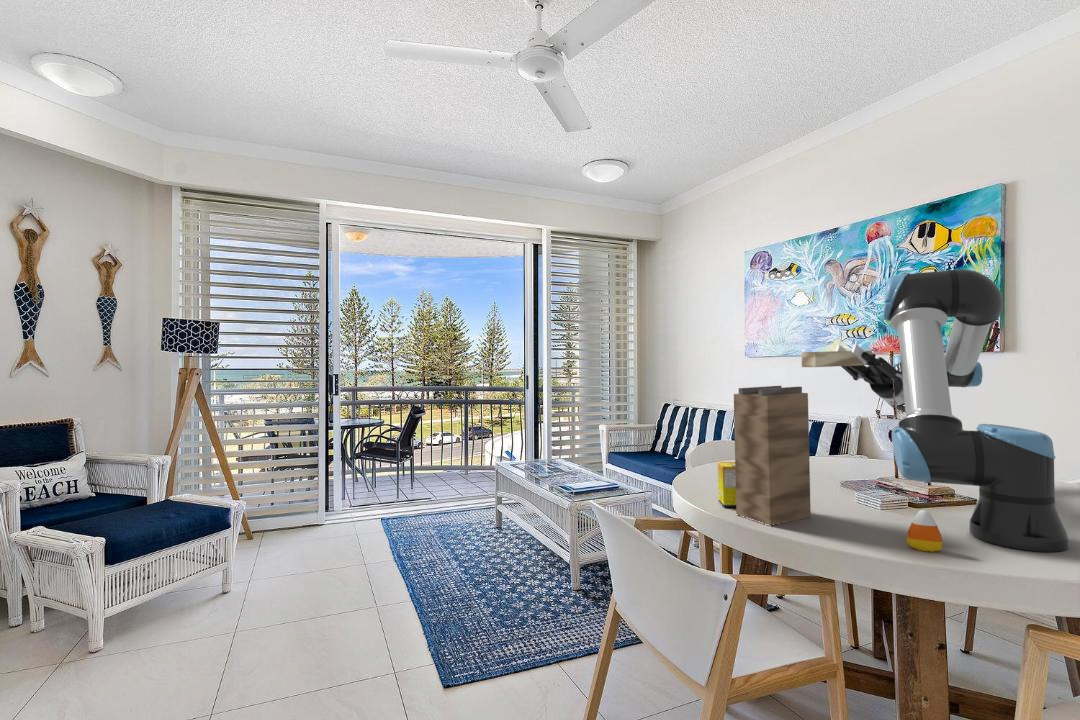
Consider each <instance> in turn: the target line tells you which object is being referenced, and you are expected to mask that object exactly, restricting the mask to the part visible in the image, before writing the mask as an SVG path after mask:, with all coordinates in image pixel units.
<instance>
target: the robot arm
mask: <svg viewBox="0 0 1080 720" xmlns="http://www.w3.org/2000/svg"><path fill="white" fill-rule="evenodd" d="M1003 299H1004V297H1003V295H1002V293H1001V290H1000V289H999V286H997V285H996V283H995V282H994V281H992V279H990V278H989V277H988V276H987V275H984V274H982V273H980V272H978V271H975V270H972V269H966V268H965V269H963V268H962V269H961V268H960V269H959V268H958V269H950V270H940V271H939V270H937V271H928V272H926V271H925V272H917V273H909V272H906V273H901V274H895V275H891V276H889V278H888V279H887V282H886V288H885V296H884V307H883V316H882V319H883V320H884V321H887V322H888V321H890V326H891V328H893V330H894V331H896V332H898V342H899V343H898V344H899V353H900V354H897V355H895V356H893V357H892V358H893V366H892V365H890V362H888V361H887V360H886V359H884V358H883V357H881V356H879V357H877V358H876V356H877V355H876V354H875V353H872V354H871V355H870V354H868V353H867V352H865V351H866V350H864V349H863V348H861V346H860V345H858V343H853V345H852V349H851V350H850V351H851V353H852V354H853V355H854V356H855V357H856V358H858V359H859V360H860V361H861V362H862V363H863V364H867V362H868V365H856V366H840V367H841V368H842V369H844V371H845V372H846V373H848V374H849V375H850V376H851V377H852V380H854V381H859V380H860V379H861V380H863V381H864V382H866V383H868V384H869V386H870V389H871V391H873V393H875V395H877V396H878V397H880V398H881V399H882V400H883V401H885V402H886V403H887V404H888V405H889V406H891V408H892V409H894V398H893V393H894V389H893V379H894V386H895V400H896V402H897V409H898V410H902V411H904V412H905V413H906V416H905V417H904V416H902V418H900V420H898V426H897V427H895V428H892V430H891V442H892V450H893V456H894V461H895V464H896V467H897V469H898V472H899V473H900V475H901V476H902V477H903V478H904V479H906V480H908V481H915V482H921V483H922V482H924V483H925V484H930V483H932V484H933V483H934V484H938V483H939V484H947V485H948V484H949V485H961V486H962V485H965V486H976V487H978V489H979V490H978V491H979V497H978V500H977V503H976V505H975V507H974V510H973V513H972V515H971V517H970V519H969V533H970V535H971V536H974V537H975V538H977V539H979V540H981V541H983V542H986V543H990V544H994V545H998V546H1001V547H1002V546H1003V547H1007V548H1012V549H1016V550H1017V549H1018V550H1025V551H1032V552H1033V551H1034V552H1044V553H1045V552H1047V553H1048V552H1062V551H1065V550H1067V549H1069V536H1068V533H1067V530H1066V529H1065V527H1064V523H1063V521H1062V519H1061V518H1060V515H1059V513H1058V511H1057V508H1056V499H1055V496H1056V495H1055V494H1056V493H1055V489H1056V488H1055V460H1056V456H1055V450H1054V445H1053V444H1054V443H1053V440H1052V438H1051V437H1050V436H1049V435H1048V434H1046V433H1043V432H1041V431H1037V430H1032V429H1028V428H1022V427H1021V428H1020V427H1014V426H1009V425H1007V426H1006V425H1000V424H989V423H979V424H978V425H977V427H976V430H964V429H963V422H962V420H961V419H960V418H958V417H957V416H955V415H954V414H953V411H952V404H951V395H950V394H951V393H950V388H949V387H951V388H969V387H970V388H971V387H978V386H980V385H981V384H982V381H983V374H984V373H983V366H982V365H981V363H980V362H979V361H978V360H979V358H980V355H981V353H982V351H983V347H984V345H985V342H986V340H987V336H988V335H989V331H990V328H991V325H992V324H993V323H995V322H996V321H997V320H998V319H999V318H1000V316H1001V314H1002V311H1003V306H1004V300H1003ZM949 318H954V320H953V323H952V326H951V331H950V334H949V339H948V341H947V345H946V349H945V348H944V340H943V333H942V331H943V330H942V327H943V326H945V325H946V324H947V322H948V320H949ZM835 351H848V350H847V349H846V348H844V347H843V345H841V344H836V347H835ZM903 403H904V404H903ZM898 404H899V405H898ZM903 405H905V406H903Z"/></svg>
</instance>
